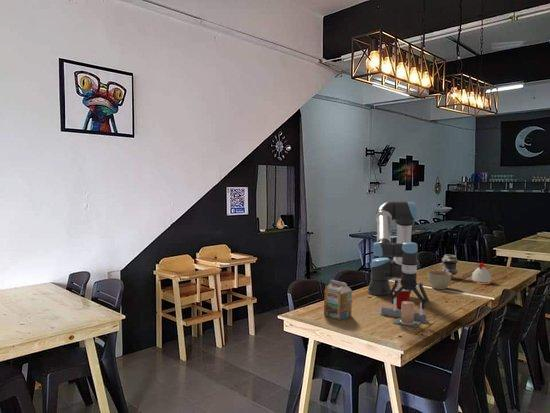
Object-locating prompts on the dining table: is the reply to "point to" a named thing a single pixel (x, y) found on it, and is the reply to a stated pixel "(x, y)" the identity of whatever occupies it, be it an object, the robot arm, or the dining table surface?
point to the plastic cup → (401, 296)
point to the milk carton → (337, 300)
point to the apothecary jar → (449, 264)
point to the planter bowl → (439, 279)
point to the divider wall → (398, 314)
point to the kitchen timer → (481, 275)
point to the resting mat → (415, 324)
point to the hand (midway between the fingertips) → (407, 312)
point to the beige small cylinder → (407, 312)
